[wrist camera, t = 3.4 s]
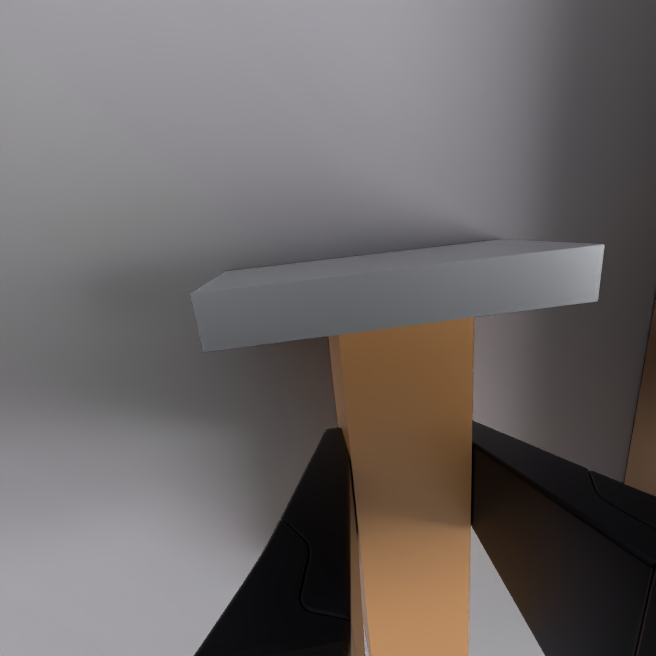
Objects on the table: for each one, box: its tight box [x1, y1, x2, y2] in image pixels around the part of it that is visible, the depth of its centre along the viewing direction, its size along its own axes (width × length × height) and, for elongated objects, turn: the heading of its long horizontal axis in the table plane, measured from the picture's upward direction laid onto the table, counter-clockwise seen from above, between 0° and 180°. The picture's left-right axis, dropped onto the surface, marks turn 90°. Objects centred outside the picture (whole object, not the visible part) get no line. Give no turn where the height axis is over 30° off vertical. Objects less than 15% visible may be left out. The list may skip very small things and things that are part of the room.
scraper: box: [190, 239, 605, 656], centre depth 9 cm, size 10×7×3 cm
